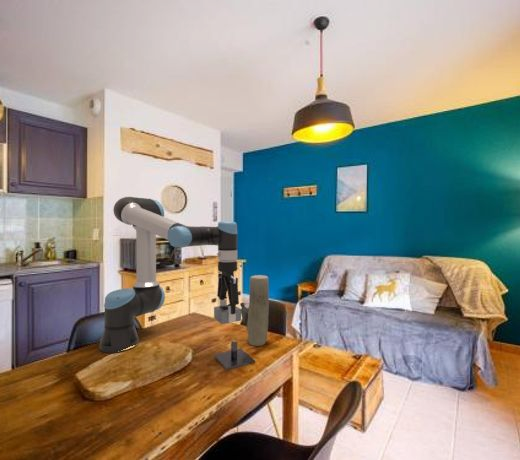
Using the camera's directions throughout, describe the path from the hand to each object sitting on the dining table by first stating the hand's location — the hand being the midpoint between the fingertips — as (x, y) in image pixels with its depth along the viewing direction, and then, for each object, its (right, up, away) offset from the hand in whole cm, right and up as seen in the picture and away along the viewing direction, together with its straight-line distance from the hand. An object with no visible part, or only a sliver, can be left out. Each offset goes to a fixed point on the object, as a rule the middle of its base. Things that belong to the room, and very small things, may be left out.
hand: (227, 318), depth 110 cm
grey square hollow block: (0, 0, 0) cm, 0 cm away
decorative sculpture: (+10, -16, +18) cm, 26 cm away
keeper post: (+3, -16, 0) cm, 16 cm away
